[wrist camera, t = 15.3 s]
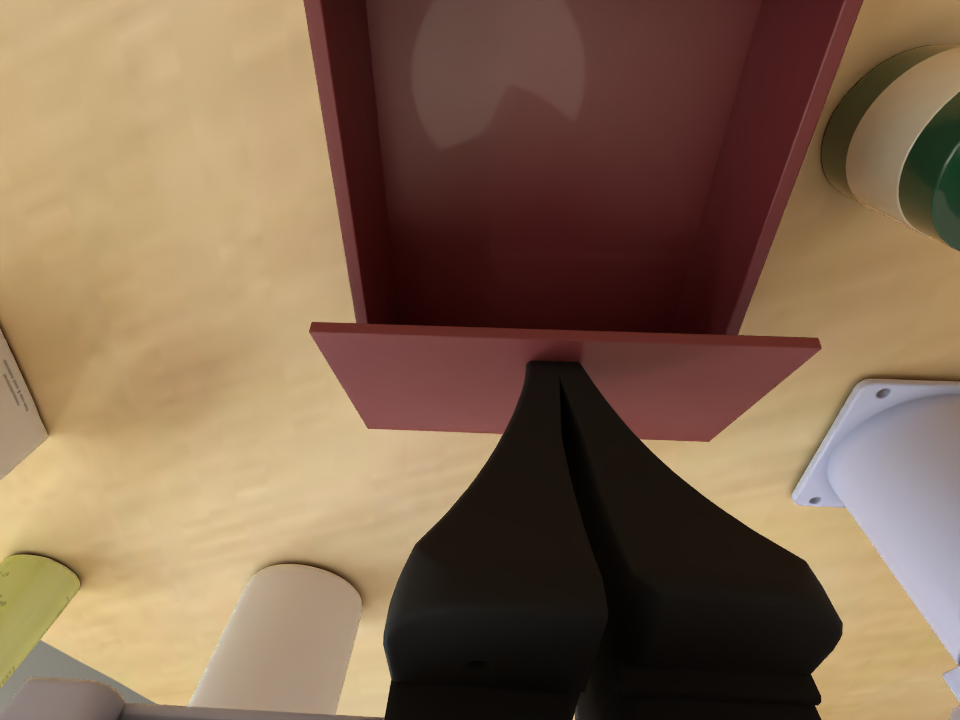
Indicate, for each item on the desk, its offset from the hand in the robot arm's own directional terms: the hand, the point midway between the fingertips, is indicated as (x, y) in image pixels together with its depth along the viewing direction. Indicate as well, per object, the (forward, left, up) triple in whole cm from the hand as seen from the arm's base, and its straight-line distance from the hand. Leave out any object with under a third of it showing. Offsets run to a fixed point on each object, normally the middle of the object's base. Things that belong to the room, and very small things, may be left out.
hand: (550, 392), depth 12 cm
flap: (0, +1, -1) cm, 1 cm away
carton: (0, -3, -7) cm, 8 cm away
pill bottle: (+14, +24, -8) cm, 29 cm away
